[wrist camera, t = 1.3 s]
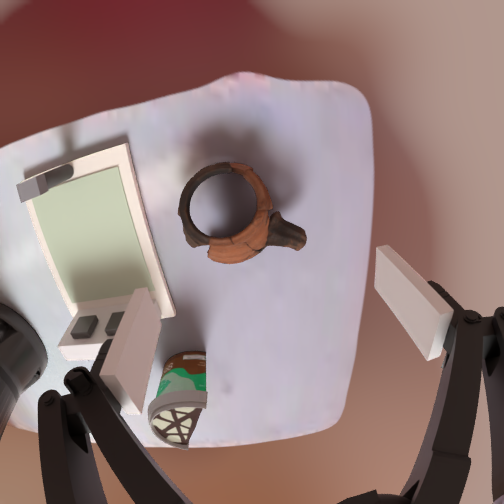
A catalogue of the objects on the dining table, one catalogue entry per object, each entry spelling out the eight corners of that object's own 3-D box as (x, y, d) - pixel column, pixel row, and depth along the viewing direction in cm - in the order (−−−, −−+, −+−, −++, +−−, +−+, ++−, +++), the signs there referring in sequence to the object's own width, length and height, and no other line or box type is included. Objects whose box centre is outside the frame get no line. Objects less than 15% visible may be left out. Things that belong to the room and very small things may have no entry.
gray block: (60, 181, 26) (21, 202, 19) (56, 167, 25) (16, 185, 18) (78, 175, 26) (40, 195, 19) (74, 160, 25) (35, 176, 18)
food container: (162, 333, 36) (149, 394, 27) (208, 344, 37) (207, 405, 28) (151, 389, 41) (142, 443, 32) (190, 398, 42) (187, 451, 33)
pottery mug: (185, 254, 32) (157, 248, 24) (206, 172, 33) (186, 143, 25) (294, 279, 31) (302, 281, 23) (312, 193, 32) (324, 168, 24)
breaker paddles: (82, 322, 30) (73, 338, 27) (79, 316, 29) (70, 333, 27) (134, 316, 30) (127, 334, 27) (131, 310, 30) (124, 327, 27)
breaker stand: (81, 323, 35) (59, 364, 27) (24, 179, 26) (-18, 200, 19) (176, 311, 35) (167, 358, 28) (128, 142, 26) (96, 152, 19)
